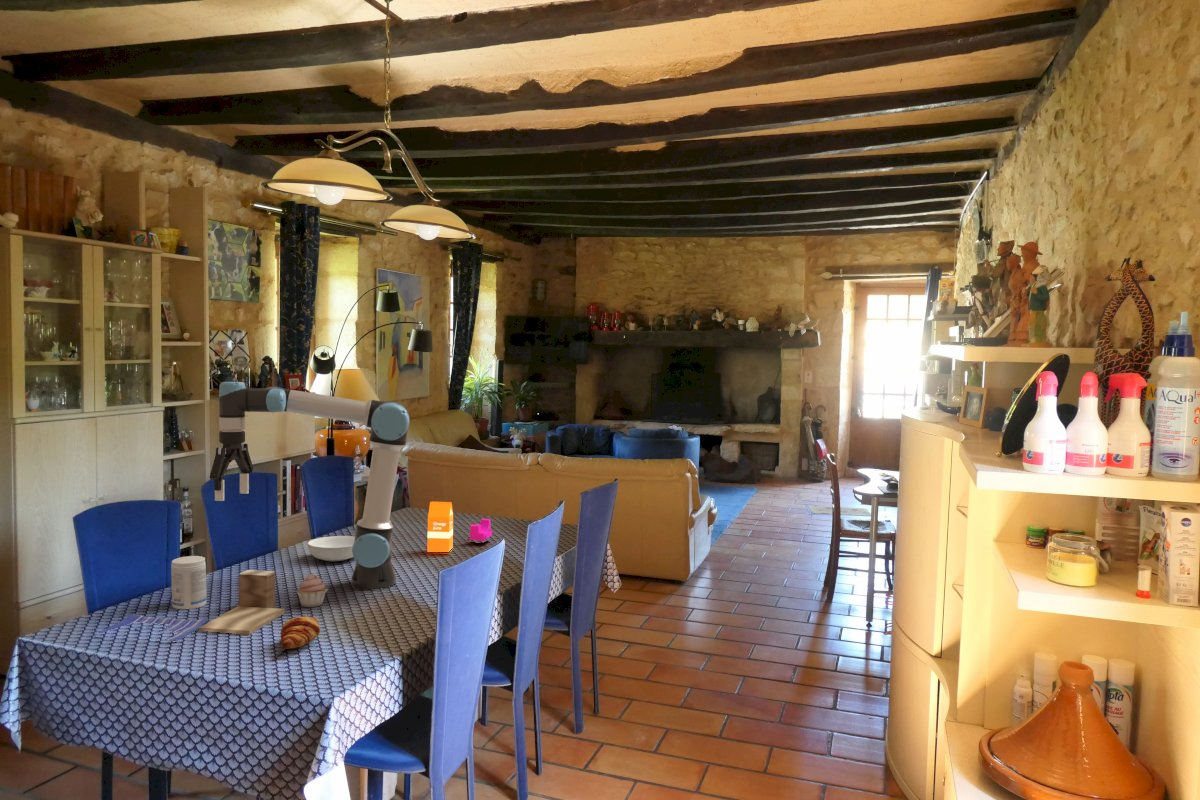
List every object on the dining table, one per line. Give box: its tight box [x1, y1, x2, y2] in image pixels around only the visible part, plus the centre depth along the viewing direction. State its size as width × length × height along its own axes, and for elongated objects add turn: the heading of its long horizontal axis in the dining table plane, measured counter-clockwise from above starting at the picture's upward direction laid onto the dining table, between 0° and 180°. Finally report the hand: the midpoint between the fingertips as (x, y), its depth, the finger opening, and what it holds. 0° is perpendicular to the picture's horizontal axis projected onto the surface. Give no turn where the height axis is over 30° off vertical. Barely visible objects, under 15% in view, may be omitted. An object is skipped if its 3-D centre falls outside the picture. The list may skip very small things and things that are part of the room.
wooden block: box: [238, 569, 276, 608], centre depth 251 cm, size 9×5×11 cm, turn 84°
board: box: [198, 605, 286, 636], centre depth 238 cm, size 15×20×1 cm
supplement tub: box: [170, 555, 208, 610], centre depth 251 cm, size 10×10×15 cm
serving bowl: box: [307, 535, 355, 562], centre depth 313 cm, size 21×21×7 cm
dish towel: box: [98, 613, 209, 641], centre depth 228 cm, size 17×24×3 cm
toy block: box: [469, 518, 493, 541], centre depth 352 cm, size 15×6×8 cm, turn 168°
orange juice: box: [426, 501, 454, 552], centre depth 329 cm, size 8×9×20 cm
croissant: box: [279, 615, 321, 650], centre depth 223 cm, size 21×10×8 cm
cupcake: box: [296, 573, 329, 608], centre depth 256 cm, size 9×9×10 cm
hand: (232, 497), depth 259 cm, fingers open, 13 cm apart
